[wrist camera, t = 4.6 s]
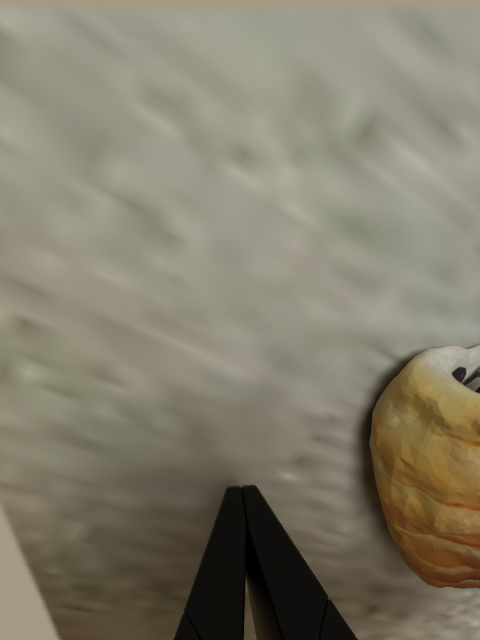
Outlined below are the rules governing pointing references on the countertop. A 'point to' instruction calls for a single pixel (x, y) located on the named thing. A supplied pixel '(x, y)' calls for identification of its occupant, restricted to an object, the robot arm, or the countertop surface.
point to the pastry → (432, 464)
